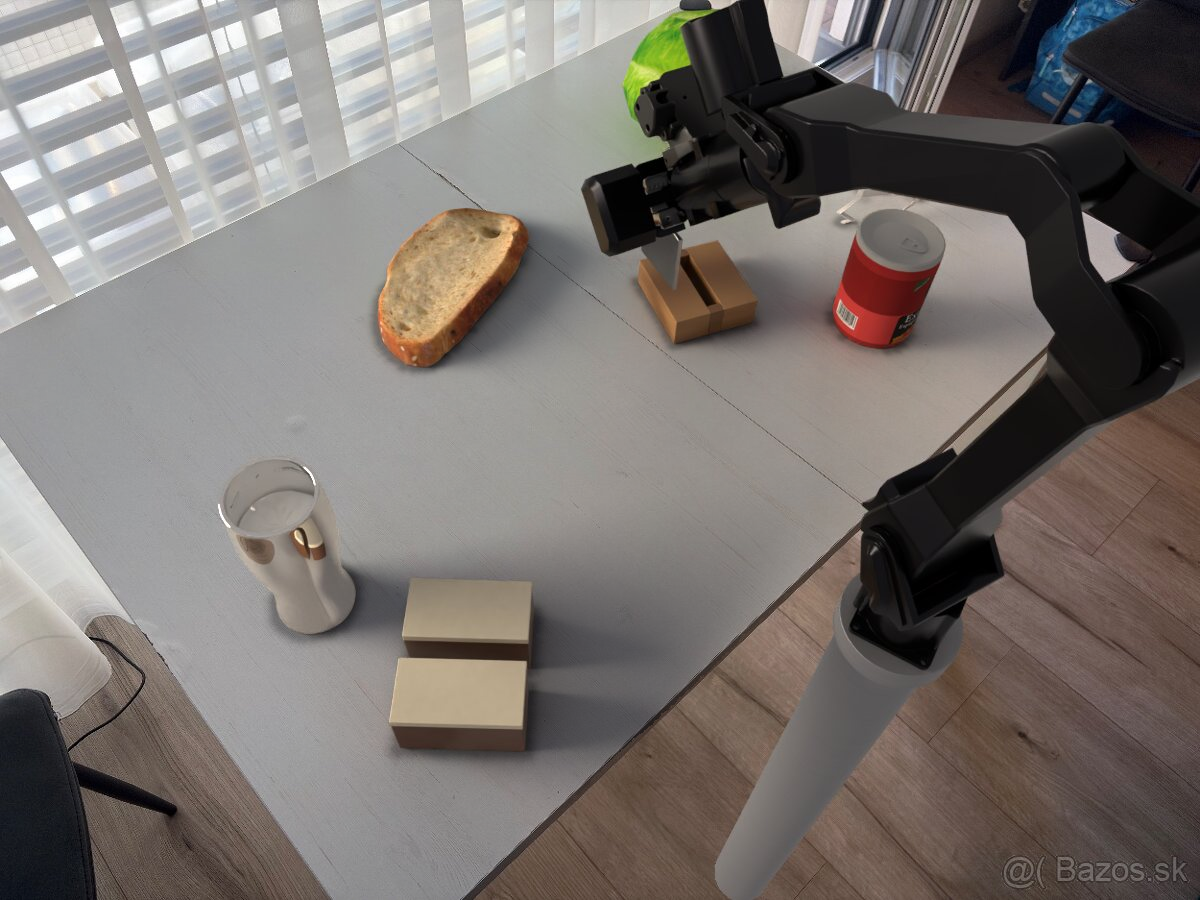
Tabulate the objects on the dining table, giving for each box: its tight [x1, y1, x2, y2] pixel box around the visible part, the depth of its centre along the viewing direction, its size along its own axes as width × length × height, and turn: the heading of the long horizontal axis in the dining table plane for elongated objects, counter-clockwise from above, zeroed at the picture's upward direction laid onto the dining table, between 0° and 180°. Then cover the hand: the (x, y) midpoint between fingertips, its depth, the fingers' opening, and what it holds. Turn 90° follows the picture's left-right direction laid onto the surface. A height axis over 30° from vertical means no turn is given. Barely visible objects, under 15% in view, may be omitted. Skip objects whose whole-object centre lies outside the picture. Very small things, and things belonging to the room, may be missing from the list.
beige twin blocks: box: [388, 577, 535, 752], centre depth 71 cm, size 9×11×5 cm
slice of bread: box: [377, 207, 530, 368], centre depth 95 cm, size 18×18×4 cm
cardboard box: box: [637, 240, 759, 345], centre depth 95 cm, size 9×9×3 cm
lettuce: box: [621, 8, 721, 123], centre depth 107 cm, size 15×20×14 cm
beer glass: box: [218, 454, 357, 635], centre depth 70 cm, size 7×7×15 cm
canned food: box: [832, 208, 947, 349], centre depth 91 cm, size 8×8×11 cm
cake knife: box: [640, 168, 684, 290], centre depth 85 cm, size 6×2×11 cm, turn 28°
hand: (656, 200), depth 85 cm, fingers closed on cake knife, 2 cm apart
